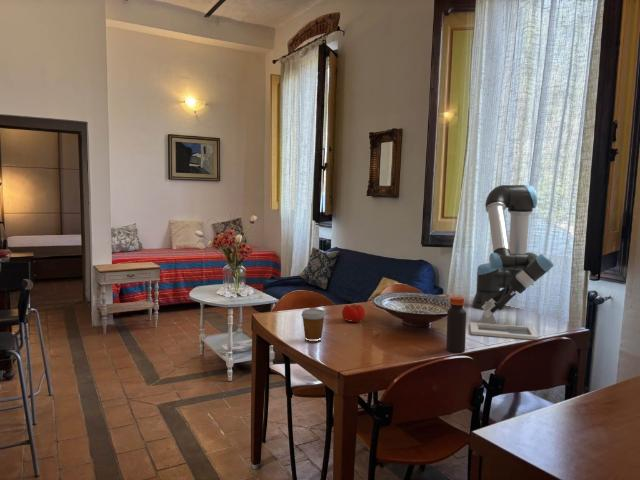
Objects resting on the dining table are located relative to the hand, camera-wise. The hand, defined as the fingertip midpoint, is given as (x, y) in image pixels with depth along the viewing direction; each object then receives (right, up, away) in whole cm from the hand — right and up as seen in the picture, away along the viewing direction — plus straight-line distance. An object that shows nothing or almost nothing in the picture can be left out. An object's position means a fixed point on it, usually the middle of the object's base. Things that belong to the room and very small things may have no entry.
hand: (484, 312), depth 213 cm
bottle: (-25, -8, -39) cm, 47 cm away
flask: (+2, -5, 0) cm, 6 cm away
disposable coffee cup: (-79, -7, -28) cm, 84 cm away
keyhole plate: (+3, -6, -15) cm, 16 cm away
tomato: (-60, -5, +3) cm, 60 cm away
